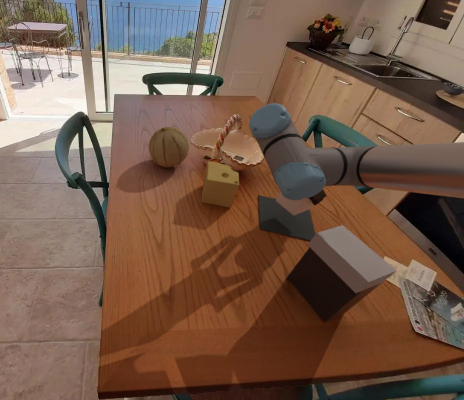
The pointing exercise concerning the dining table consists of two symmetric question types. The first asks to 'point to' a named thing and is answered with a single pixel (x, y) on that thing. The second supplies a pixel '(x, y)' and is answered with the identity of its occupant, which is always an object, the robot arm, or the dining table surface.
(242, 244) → the dining table surface
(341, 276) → the lidded grey box
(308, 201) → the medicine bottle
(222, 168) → the cheese
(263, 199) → the mat
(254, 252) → the dining table surface
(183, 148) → the cantaloupe
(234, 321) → the dining table surface
